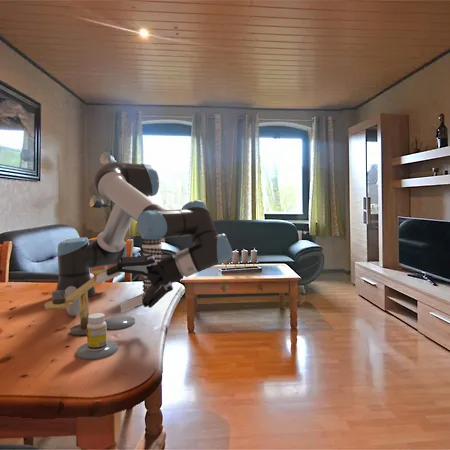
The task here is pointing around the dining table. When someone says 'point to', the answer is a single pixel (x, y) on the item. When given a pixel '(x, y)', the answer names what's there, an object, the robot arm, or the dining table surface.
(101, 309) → the dining table surface
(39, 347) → the dining table surface
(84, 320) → the balance
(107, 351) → the dish low
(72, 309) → the donut
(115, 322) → the glossy grey puck
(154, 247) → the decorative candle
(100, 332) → the supplement bottle
